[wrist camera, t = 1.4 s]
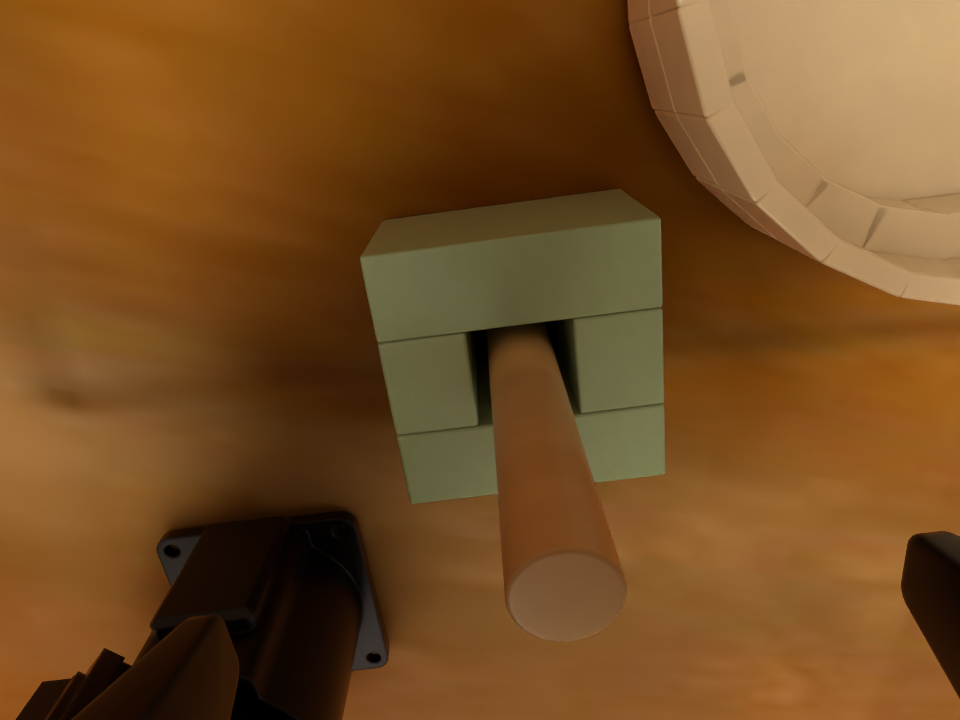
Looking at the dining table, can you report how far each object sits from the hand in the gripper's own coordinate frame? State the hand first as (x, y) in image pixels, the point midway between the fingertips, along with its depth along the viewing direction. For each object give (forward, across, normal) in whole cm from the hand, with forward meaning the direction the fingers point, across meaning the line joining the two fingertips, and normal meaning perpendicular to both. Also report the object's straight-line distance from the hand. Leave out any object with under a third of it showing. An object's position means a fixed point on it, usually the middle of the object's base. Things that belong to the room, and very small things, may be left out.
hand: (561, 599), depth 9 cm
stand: (+11, 0, 0) cm, 11 cm away
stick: (+11, 0, 0) cm, 11 cm away
